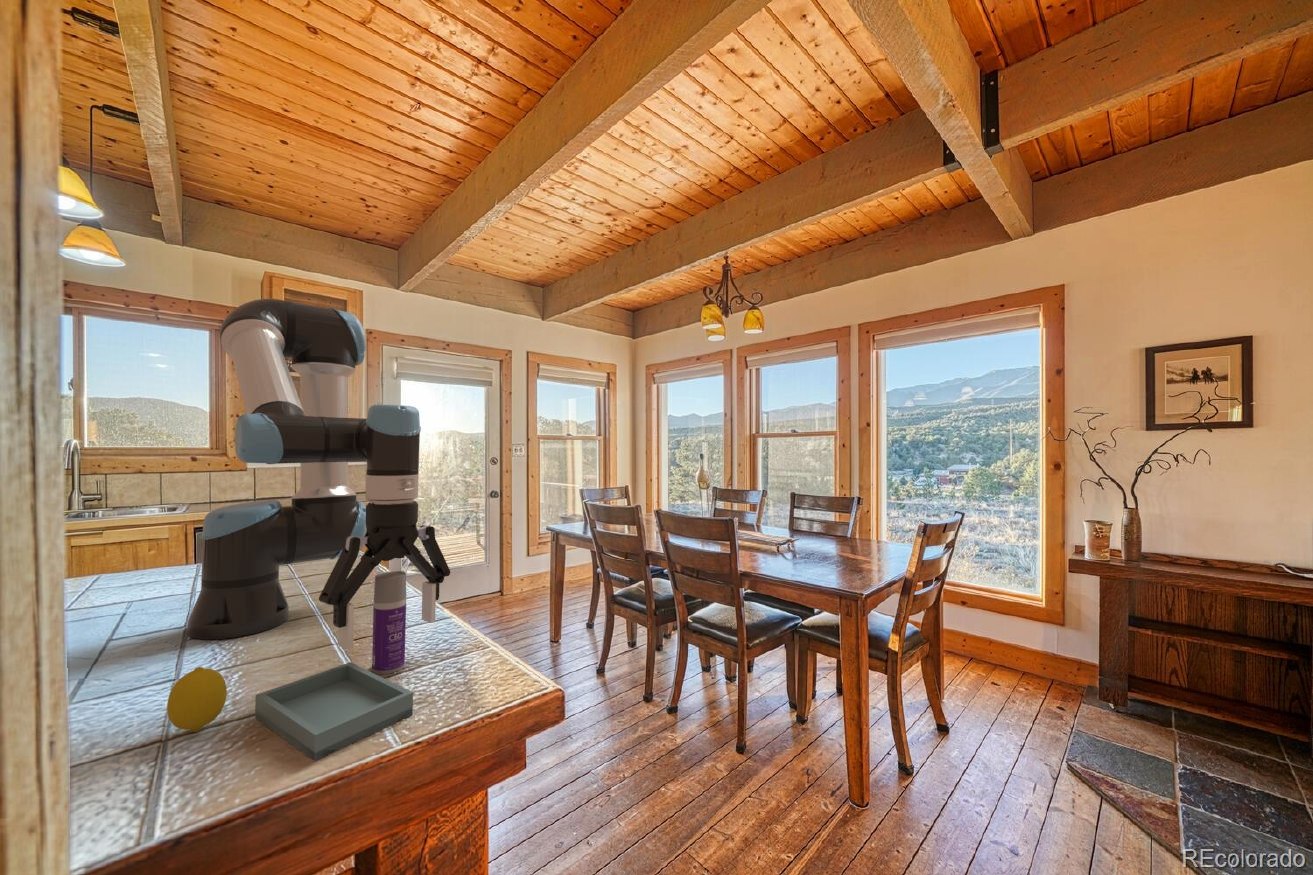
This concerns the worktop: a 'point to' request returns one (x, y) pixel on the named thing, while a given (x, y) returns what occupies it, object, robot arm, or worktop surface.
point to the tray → (332, 709)
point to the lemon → (196, 699)
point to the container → (389, 622)
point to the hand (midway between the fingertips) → (390, 633)
